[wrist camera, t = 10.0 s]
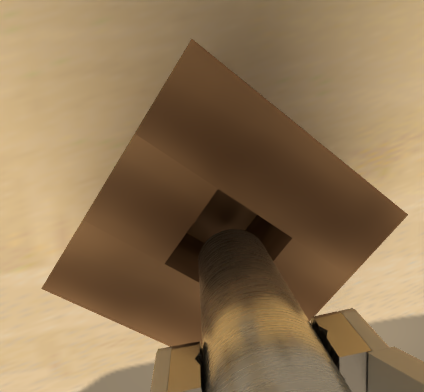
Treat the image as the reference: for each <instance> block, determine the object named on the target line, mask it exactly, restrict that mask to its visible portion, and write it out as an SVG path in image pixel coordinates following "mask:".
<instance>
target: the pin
mask: <svg viewBox="0 0 424 392" xmlns="http://www.w3.org/2000/svg"><path fill="white" fill-rule="evenodd" d="M198 267H199V287H200V308H201V328H202V349H203V369H204V387H205V392H352V391H351V389H350V388H349V386H348V384H347V383H346V381H345V379H344V378H343V376H342V374H341V373H340V371H339V369H338V368H337V366H336V365H335V363H334V361H333V360H332V358H331V356H330V355H329V353H328V351H327V350H326V348H325V346H324V345H323V343H322V341H321V340H320V338H319V336H318V335H317V333H316V331H315V330H314V328H313V326H312V325H311V323H310V321H309V320H308V318H307V317H306V315H305V313H304V312H303V310H302V308H301V307H300V305H299V303H298V302H297V300H296V298H295V297H294V295H293V293H292V292H291V290H290V288H289V287H288V285H287V283H286V282H285V280H284V278H283V277H282V275H281V273H280V272H279V270H278V268H277V267H276V265H275V264H274V262H273V260H272V259H271V257H270V255H269V254H268V252H267V250H266V249H265V247H264V245H263V244H262V242H261V241H260V239H259V238H257V237H256V236H255V235H254V234H252V233H250V232H248V231H245V230H241V229H228V230H224V231H221V232H218V233H217V234H215V235H213V236H212V237H210V238H209V239H208V240H207V241H206V242H205V244H204V245H203V247H202V249H201V251H200V254H199V258H198Z"/></svg>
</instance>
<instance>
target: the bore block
mask: <svg viewBox="0 0 424 392" xmlns="http://www.w3.org/2000/svg"><path fill="white" fill-rule="evenodd" d="M407 215H408V214H407V213H405V212H404V211H403V210H402V209H400V208H399V207H398V206H397V205H395V204H394V203H393V202H392V201H391V200H389V199H388V198H387V197H386V196H384V195H383V194H382V193H381V192H380V191H378V190H377V189H376V188H375V187H373V186H372V185H371V184H370V183H368V182H367V181H366V180H365V179H364V178H362V177H361V176H360V175H359V174H357V173H356V172H355V171H354V170H352V169H351V168H350V167H349V166H348V165H346V164H345V163H344V162H343V161H341V160H340V159H339V158H338V157H336V156H335V155H334V154H333V153H332V152H330V151H329V150H328V149H327V148H325V147H324V146H323V145H322V144H321V143H319V142H318V141H317V140H316V139H314V138H313V137H312V136H311V135H309V134H308V133H307V132H306V131H305V130H303V129H302V128H301V127H300V126H298V125H297V124H296V123H295V122H293V121H292V120H291V119H290V118H289V117H287V116H286V115H285V114H284V113H282V112H281V111H280V110H279V109H278V108H276V107H275V106H274V105H273V104H271V103H270V102H269V101H268V100H266V99H265V98H264V97H263V96H262V95H260V94H259V93H258V92H257V91H255V90H254V89H253V88H252V87H250V86H249V85H248V84H247V83H246V82H244V81H243V80H242V79H241V78H239V77H238V76H237V75H236V74H234V73H233V72H232V71H231V70H230V69H228V68H227V67H226V66H225V65H223V64H222V63H221V62H220V61H219V60H217V59H216V58H215V57H214V56H212V55H211V54H210V53H209V52H207V51H206V50H205V49H204V48H203V47H201V46H200V45H199V44H198V43H196V42H195V41H194V40H193V39H191V41H190V43H189V44H188V46H187V48H186V49H185V51H184V53H183V54H182V56H181V58H180V59H179V61H178V63H177V64H176V66H175V68H174V69H173V71H172V73H171V74H170V76H169V78H168V79H167V81H166V83H165V84H164V86H163V88H162V89H161V91H160V93H159V94H158V96H157V98H156V99H155V101H154V103H153V104H152V106H151V108H150V109H149V111H148V113H147V114H146V116H145V118H144V119H143V121H142V123H141V124H140V126H139V128H138V129H137V131H136V132H135V134H134V136H133V137H132V139H131V141H130V142H129V144H128V146H127V147H126V149H125V151H124V152H123V154H122V156H121V157H120V159H119V161H118V162H117V164H116V166H115V167H114V169H113V171H112V172H111V174H110V176H109V177H108V179H107V181H106V182H105V184H104V186H103V187H102V189H101V191H100V192H99V194H98V196H97V197H96V199H95V201H94V202H93V204H92V206H91V207H90V209H89V211H88V212H87V214H86V216H85V217H84V219H83V221H82V222H81V224H80V226H79V227H78V229H77V231H76V232H75V234H74V236H73V237H72V239H71V241H70V242H69V244H68V246H67V247H66V249H65V251H64V252H63V254H62V255H61V257H60V259H59V260H58V262H57V264H56V265H55V267H54V269H53V270H52V272H51V274H50V275H49V277H48V279H47V280H46V282H45V284H44V285H43V287H42V289H43V290H45V291H48V292H50V293H52V294H54V295H57V296H59V297H61V298H63V299H66V300H68V301H70V302H72V303H74V304H77V305H79V306H81V307H83V308H86V309H88V310H90V311H92V312H95V313H97V314H99V315H101V316H103V317H106V318H108V319H110V320H112V321H115V322H117V323H119V324H121V325H124V326H126V327H128V328H130V329H132V330H135V331H137V332H139V333H141V334H144V335H146V336H148V337H150V338H152V339H155V340H157V341H159V342H161V343H164V344H166V345H168V346H170V347H172V346H176V345H182V344H187V343H193V342H198V341H200V342H201V345H202V328H201V308H200V287H199V267H198V258H199V254H200V251H201V249H202V247H203V245H204V244H205V242H206V241H207V240H208V239H209V238H210V237H212V236H213V235H215V234H217V233H218V232H221V231H224V230H228V229H241V230H245V231H248V232H250V233H252V234H254V235H255V236H256V237H257V238H259V239H260V241H261V242H262V244H263V245H264V247H265V249H266V250H267V252H268V254H269V255H270V257H271V259H272V260H273V262H274V264H275V265H276V267H277V268H278V270H279V272H280V273H281V275H282V277H283V278H284V280H285V282H286V283H287V285H288V287H289V288H290V290H291V292H292V293H293V295H294V297H295V298H296V300H297V302H298V303H299V305H300V307H301V308H302V310H303V312H304V313H305V315H306V317H307V318H308V320H309V321H310V320H311V317H314V316H315V315H316V314H317V313H318V312H319V310H320V309H321V308H322V307H323V306H324V305H325V304H326V303H327V302H328V301H329V300H330V299H331V298H332V296H333V295H334V294H335V293H336V292H337V291H338V290H339V289H340V288H341V287H342V286H343V285H344V283H345V282H346V281H347V280H348V279H349V278H350V277H351V276H352V275H353V274H354V273H355V272H356V270H357V269H358V268H359V267H360V266H361V265H362V264H363V263H364V262H365V261H366V260H367V259H368V258H369V256H370V255H371V254H372V253H373V252H374V251H375V250H376V249H377V248H378V247H379V246H380V245H381V243H382V242H383V241H384V240H385V239H386V238H387V237H388V236H389V235H390V234H391V233H392V232H393V230H394V229H395V228H396V227H397V226H398V225H399V224H400V223H401V222H402V221H403V220H404V219H405V218H406V216H407Z"/></svg>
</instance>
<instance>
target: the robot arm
mask: <svg viewBox="0 0 424 392" xmlns="http://www.w3.org/2000/svg"><path fill="white" fill-rule="evenodd" d="M311 325H312V326H313V328H314V330H315V331H316V333H317V335H318V336H319V338H320V340H321V341H322V343H323V345H324V346H325V348H326V350H327V351H328V353H329V355H330V356H331V358H332V360H333V361H334V363H335V365H336V366H337V368H338V369H339V371H340V373H341V374H342V376H343V378H344V379H345V381H346V383H347V384H348V386H349V388H350V389H351V391H352V392H424V362H423V361H421V360H419V359H417V358H415V357H413V356H411V355H409V354H408V353H406V352H404V351H401V350H400V349H398V348H395V347H389V346H388V345H387V344H386V343H385V342H384V341H383V340H382V339H381V338H380V337H379V335H378V334H377V333H376V332H375V331H374V330H373V329H372V328H371V326H370V325H369V324H368V323H367V322H366V321H365V320H364V319H363V318H362V317H361V315H360V314H359V313H358V312H357V311H356V310H355V309H353V308H351V309H347V310H342V311H338V312H332V313H328V314H323V315H319V316H315V317H311ZM150 392H205V387H204V369H203V349H202V345H201V342H200V341H198V342H193V343H187V344H182V345H176V346H172V347H167V348H161V349H158V351H157V353H156V358H155V364H154V371H153V377H152V383H151V390H150Z"/></svg>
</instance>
